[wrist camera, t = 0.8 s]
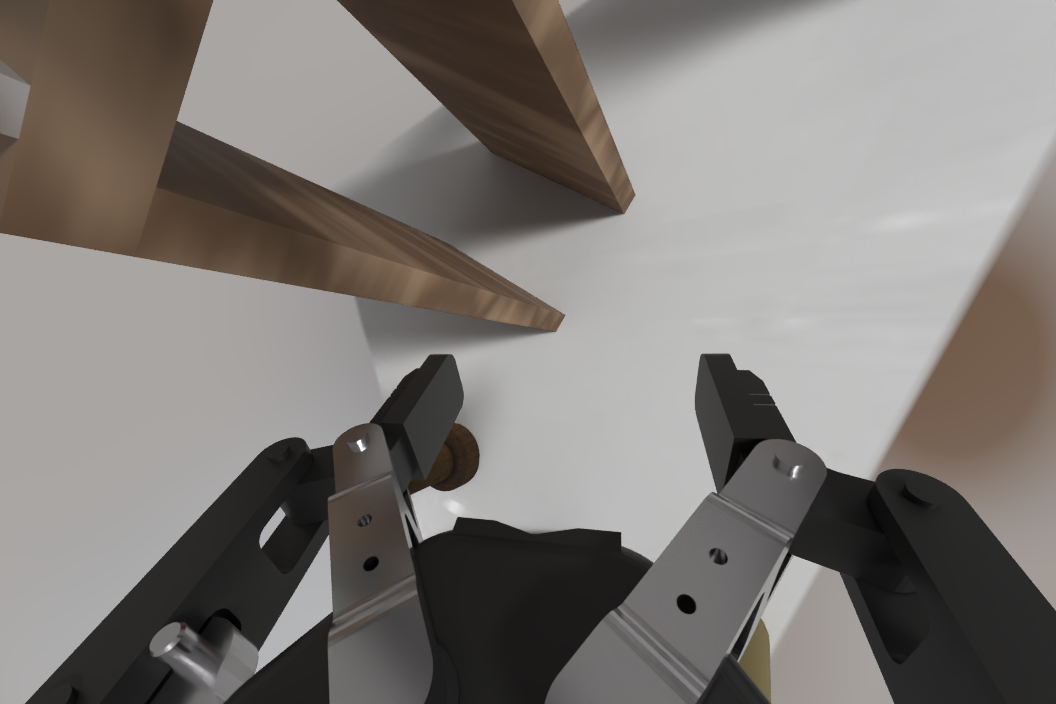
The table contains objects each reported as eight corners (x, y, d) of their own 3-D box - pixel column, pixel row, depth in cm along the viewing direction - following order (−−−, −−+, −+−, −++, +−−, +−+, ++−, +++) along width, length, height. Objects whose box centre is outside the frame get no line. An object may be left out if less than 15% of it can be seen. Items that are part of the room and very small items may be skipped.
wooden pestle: (429, 421, 43) (260, 461, 26) (479, 424, 40) (326, 470, 24) (430, 481, 43) (261, 560, 26) (481, 488, 40) (328, 580, 24)
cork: (672, 637, 32) (659, 764, 22) (703, 577, 31) (704, 680, 21) (748, 689, 30) (773, 857, 20) (784, 626, 29) (828, 768, 19)
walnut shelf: (499, 135, 40) (-142, -576, 9) (635, 194, 34) (118, -1104, 4) (439, 257, 42) (-199, 14, 12) (555, 331, 37) (-99, 215, 7)
